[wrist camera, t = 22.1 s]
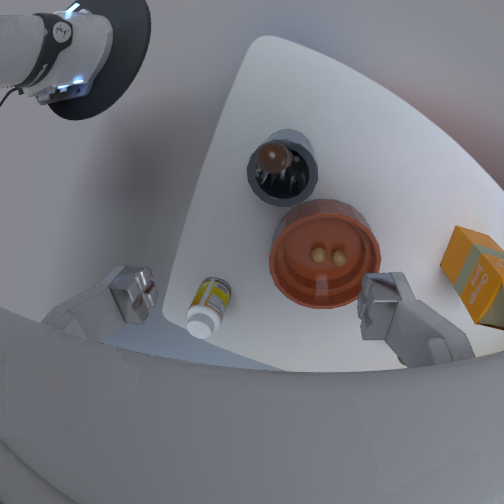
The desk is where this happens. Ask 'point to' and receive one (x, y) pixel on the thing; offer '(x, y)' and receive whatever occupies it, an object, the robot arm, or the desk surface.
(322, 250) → the bead
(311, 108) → the desk surface
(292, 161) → the stir paddle
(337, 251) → the bead
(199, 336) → the supplement bottle
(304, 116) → the desk surface
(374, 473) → the robot arm
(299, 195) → the crock
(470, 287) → the orange juice
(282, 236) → the bowl
